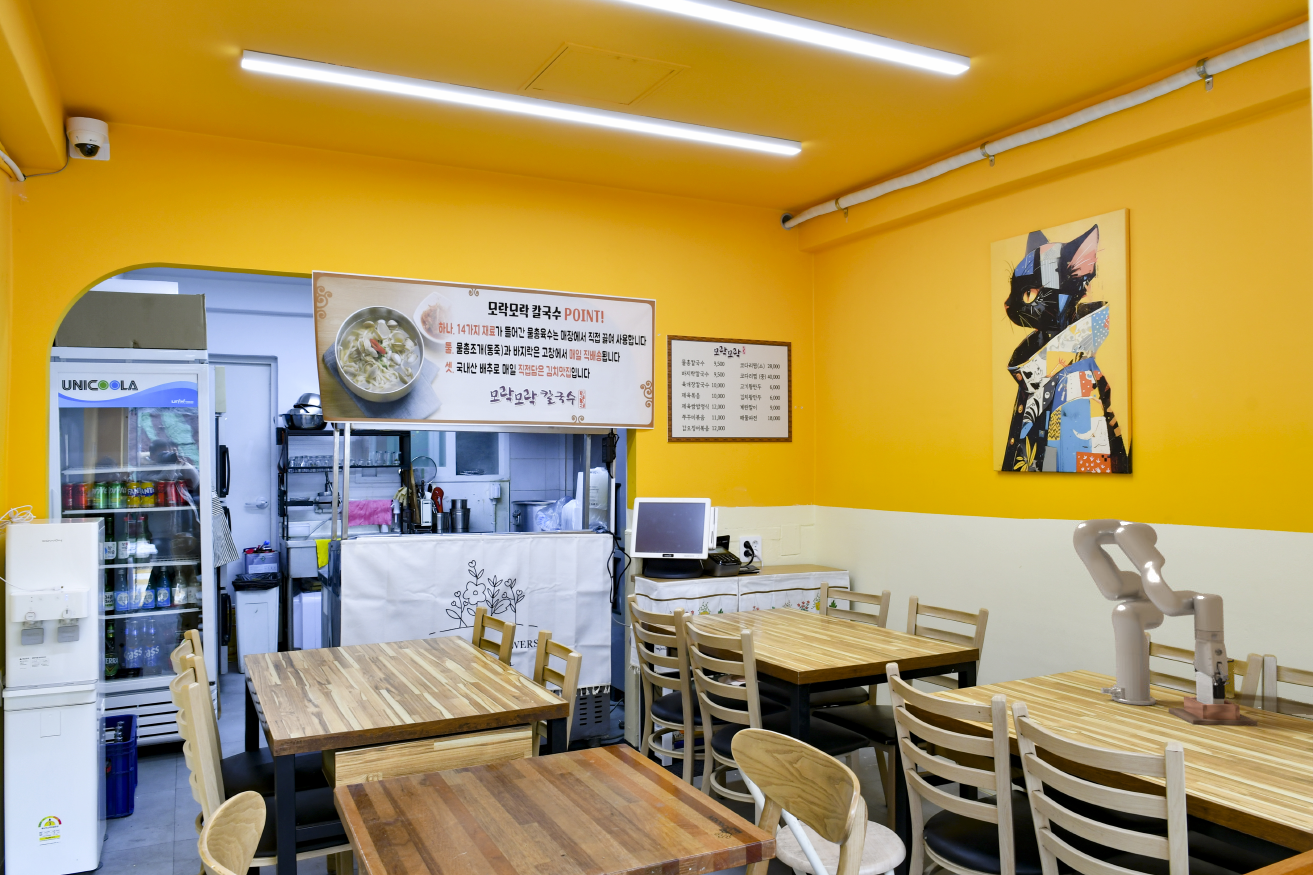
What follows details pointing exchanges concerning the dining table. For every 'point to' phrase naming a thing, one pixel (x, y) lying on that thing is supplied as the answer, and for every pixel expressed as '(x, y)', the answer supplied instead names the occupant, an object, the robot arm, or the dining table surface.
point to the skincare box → (1206, 689)
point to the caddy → (1211, 713)
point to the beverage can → (1230, 677)
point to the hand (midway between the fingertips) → (1210, 694)
